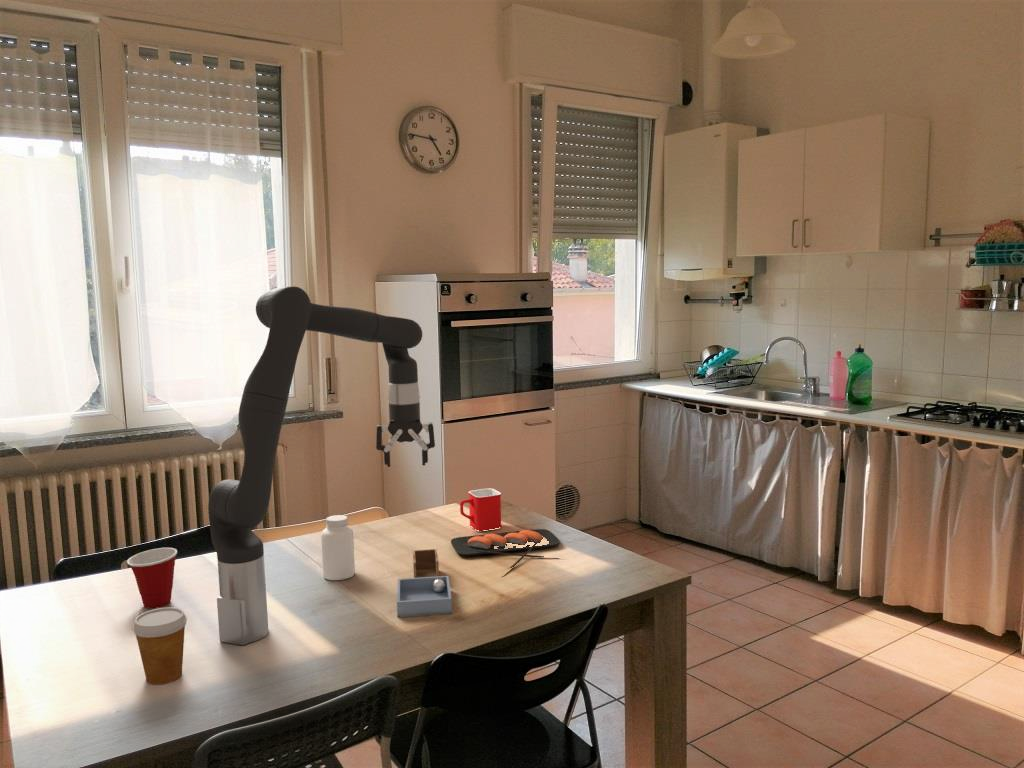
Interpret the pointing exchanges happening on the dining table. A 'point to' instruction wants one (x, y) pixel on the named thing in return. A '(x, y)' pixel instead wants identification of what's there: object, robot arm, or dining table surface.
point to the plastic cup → (154, 575)
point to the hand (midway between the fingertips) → (406, 465)
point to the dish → (423, 597)
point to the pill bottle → (337, 549)
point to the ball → (438, 585)
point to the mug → (483, 509)
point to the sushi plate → (503, 542)
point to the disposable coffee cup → (161, 643)
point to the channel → (425, 563)
